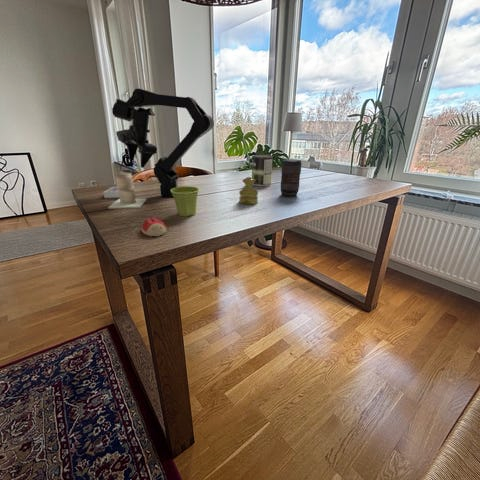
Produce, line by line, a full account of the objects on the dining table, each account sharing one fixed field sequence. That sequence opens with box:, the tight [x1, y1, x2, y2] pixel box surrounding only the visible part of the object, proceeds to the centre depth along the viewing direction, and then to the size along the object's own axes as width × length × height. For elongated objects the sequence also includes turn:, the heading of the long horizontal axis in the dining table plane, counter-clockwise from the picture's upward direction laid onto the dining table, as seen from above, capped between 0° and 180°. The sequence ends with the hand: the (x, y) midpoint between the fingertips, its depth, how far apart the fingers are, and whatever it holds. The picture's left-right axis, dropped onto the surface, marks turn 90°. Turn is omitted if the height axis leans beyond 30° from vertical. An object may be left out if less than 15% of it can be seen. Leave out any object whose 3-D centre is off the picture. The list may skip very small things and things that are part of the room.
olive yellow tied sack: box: [238, 176, 259, 206], centre depth 102 cm, size 7×7×10 cm
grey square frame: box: [102, 186, 135, 199], centre depth 112 cm, size 10×10×2 cm
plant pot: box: [170, 185, 200, 217], centre depth 89 cm, size 9×9×9 cm
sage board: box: [107, 198, 148, 210], centre depth 101 cm, size 11×11×1 cm
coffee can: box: [251, 154, 274, 187], centre depth 131 cm, size 10×10×14 cm
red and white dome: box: [141, 217, 167, 237], centre depth 76 cm, size 7×10×4 cm
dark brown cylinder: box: [280, 159, 303, 198], centre depth 111 cm, size 8×8×15 cm
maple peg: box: [115, 172, 137, 205], centre depth 98 cm, size 6×6×11 cm
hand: (136, 164), depth 108 cm, fingers open, 9 cm apart
